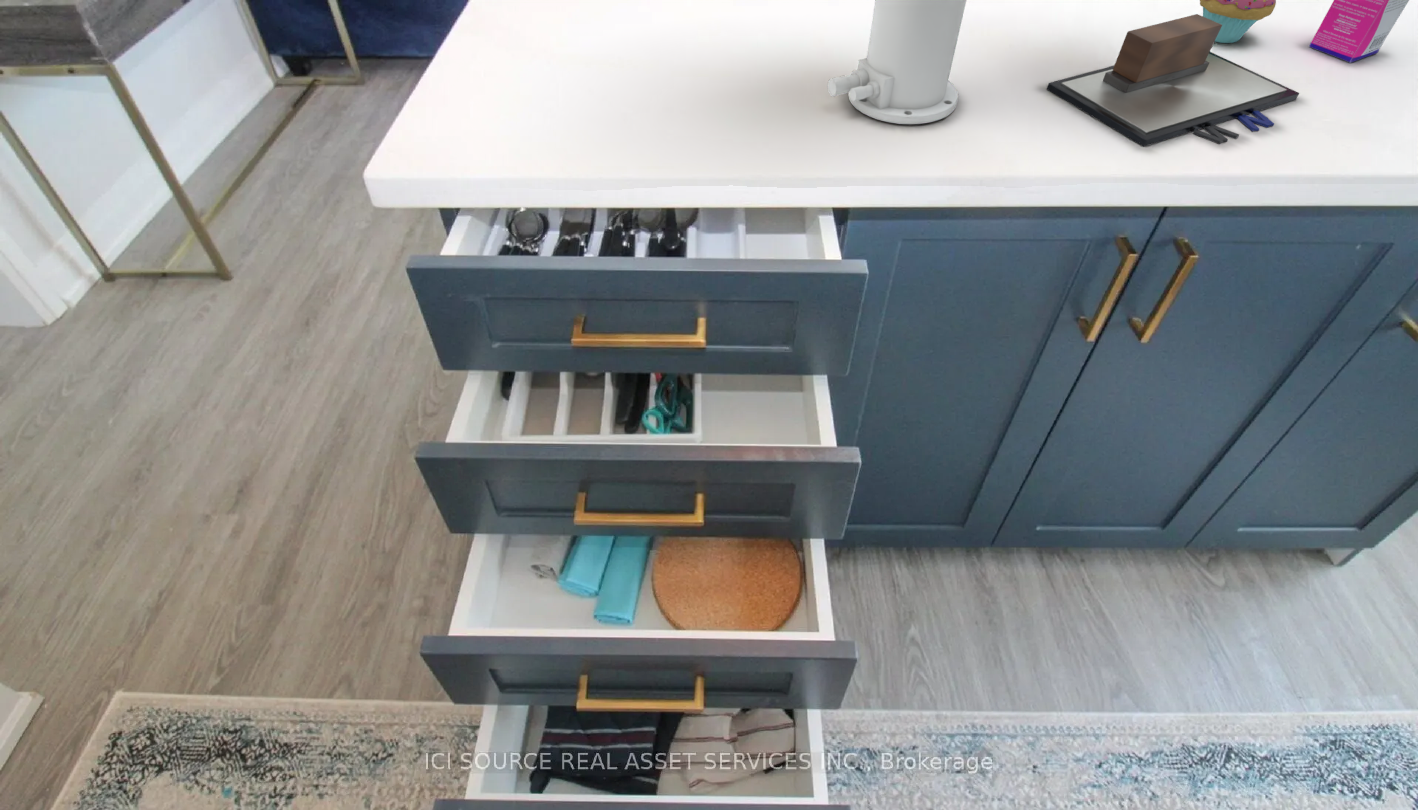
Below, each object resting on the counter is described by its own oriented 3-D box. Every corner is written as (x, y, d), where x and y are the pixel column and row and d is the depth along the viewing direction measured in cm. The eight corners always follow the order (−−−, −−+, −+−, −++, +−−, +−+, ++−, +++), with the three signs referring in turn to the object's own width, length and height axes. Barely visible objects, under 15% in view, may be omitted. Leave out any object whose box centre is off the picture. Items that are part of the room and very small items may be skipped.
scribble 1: (1214, 146, 81) (1215, 143, 81) (1191, 133, 83) (1192, 130, 83) (1239, 137, 82) (1240, 135, 82) (1216, 125, 84) (1217, 122, 84)
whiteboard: (1143, 147, 81) (1147, 138, 80) (1046, 89, 90) (1048, 81, 90) (1295, 99, 88) (1300, 91, 87) (1191, 50, 97) (1194, 42, 96)
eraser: (1125, 93, 87) (1145, 45, 83) (1102, 80, 89) (1120, 32, 85) (1206, 70, 91) (1229, 23, 87) (1181, 59, 93) (1203, 12, 89)
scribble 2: (1254, 132, 83) (1255, 129, 83) (1230, 120, 85) (1231, 117, 85) (1279, 124, 84) (1280, 121, 84) (1255, 112, 86) (1257, 109, 86)
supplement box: (1333, 37, 99) (1390, -61, 91) (1378, 53, 96) (1442, -47, 87) (1305, 46, 97) (1361, -53, 89) (1350, 64, 94) (1413, -38, 85)
